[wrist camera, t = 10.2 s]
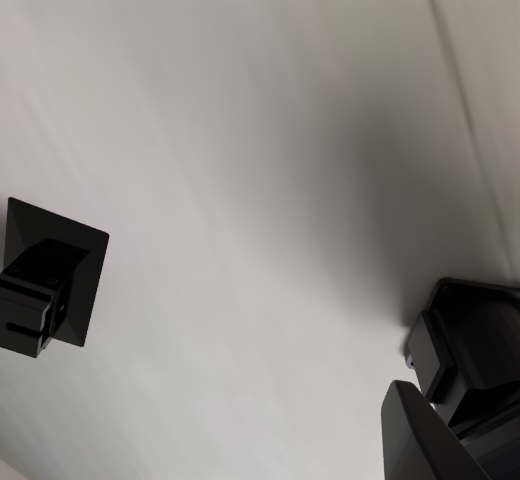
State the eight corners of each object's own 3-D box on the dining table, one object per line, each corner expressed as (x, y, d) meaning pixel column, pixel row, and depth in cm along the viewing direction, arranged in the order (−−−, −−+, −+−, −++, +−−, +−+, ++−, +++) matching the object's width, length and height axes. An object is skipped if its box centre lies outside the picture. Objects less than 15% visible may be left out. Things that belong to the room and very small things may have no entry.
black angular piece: (95, 359, 30) (63, 418, 26) (-11, 325, 29) (-61, 380, 25) (132, 212, 23) (96, 259, 19) (-3, 162, 23) (-69, 201, 19)
